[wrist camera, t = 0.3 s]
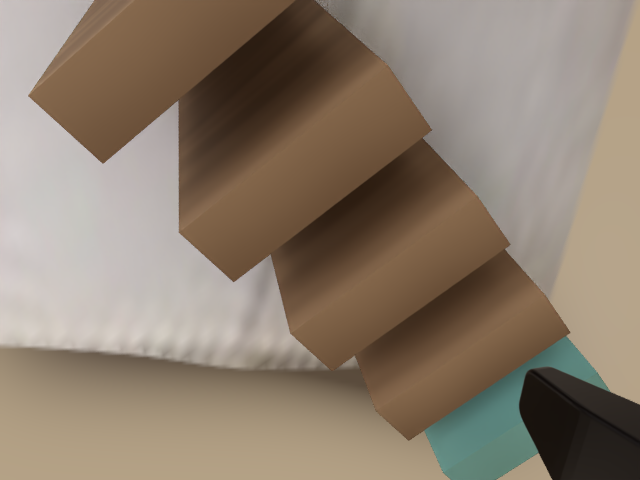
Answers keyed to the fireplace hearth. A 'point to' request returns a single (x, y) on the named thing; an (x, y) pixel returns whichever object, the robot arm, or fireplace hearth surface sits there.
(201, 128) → the domino
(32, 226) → the fireplace hearth surface
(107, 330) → the fireplace hearth surface
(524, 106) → the fireplace hearth surface
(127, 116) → the domino
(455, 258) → the domino
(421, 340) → the domino
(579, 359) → the domino
